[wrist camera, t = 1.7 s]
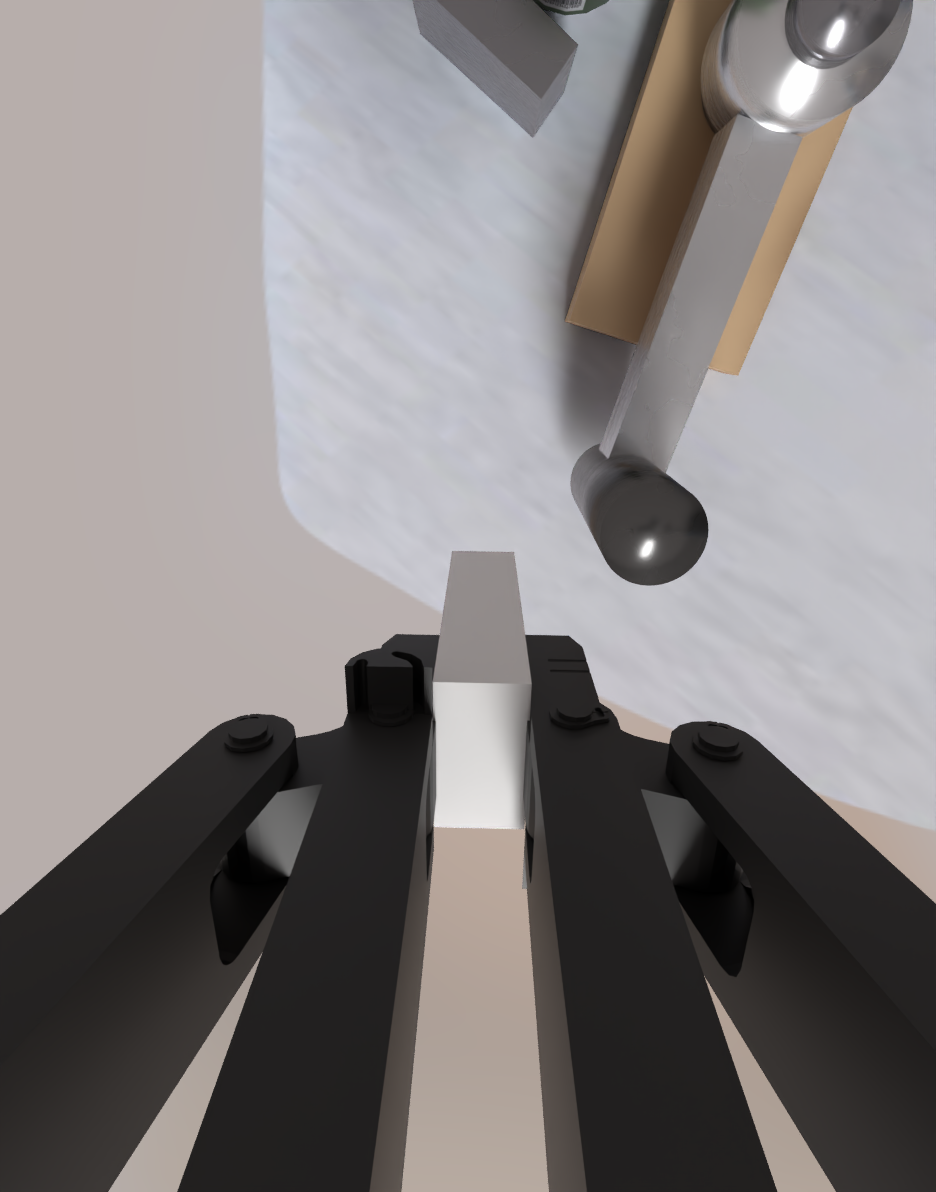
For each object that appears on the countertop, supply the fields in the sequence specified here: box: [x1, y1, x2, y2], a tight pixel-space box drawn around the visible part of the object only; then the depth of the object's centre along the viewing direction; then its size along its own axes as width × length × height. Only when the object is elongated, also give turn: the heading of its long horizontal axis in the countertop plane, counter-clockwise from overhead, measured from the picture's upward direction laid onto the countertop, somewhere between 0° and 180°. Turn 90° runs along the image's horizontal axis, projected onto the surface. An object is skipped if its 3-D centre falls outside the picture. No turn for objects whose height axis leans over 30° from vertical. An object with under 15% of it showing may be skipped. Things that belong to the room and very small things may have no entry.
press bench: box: [565, 0, 852, 375], centre depth 27 cm, size 8×18×2 cm, turn 163°
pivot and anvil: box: [413, 0, 901, 137], centre depth 23 cm, size 15×6×10 cm, turn 73°
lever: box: [571, 0, 913, 585], centre depth 22 cm, size 28×5×9 cm, turn 163°
